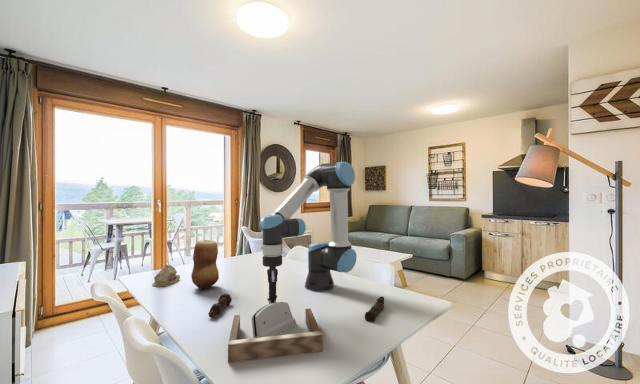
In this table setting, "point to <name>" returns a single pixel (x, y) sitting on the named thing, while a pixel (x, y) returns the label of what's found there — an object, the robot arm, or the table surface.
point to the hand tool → (375, 310)
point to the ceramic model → (166, 276)
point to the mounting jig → (275, 342)
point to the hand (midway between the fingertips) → (272, 315)
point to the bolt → (219, 305)
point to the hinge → (272, 320)
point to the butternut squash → (205, 264)
